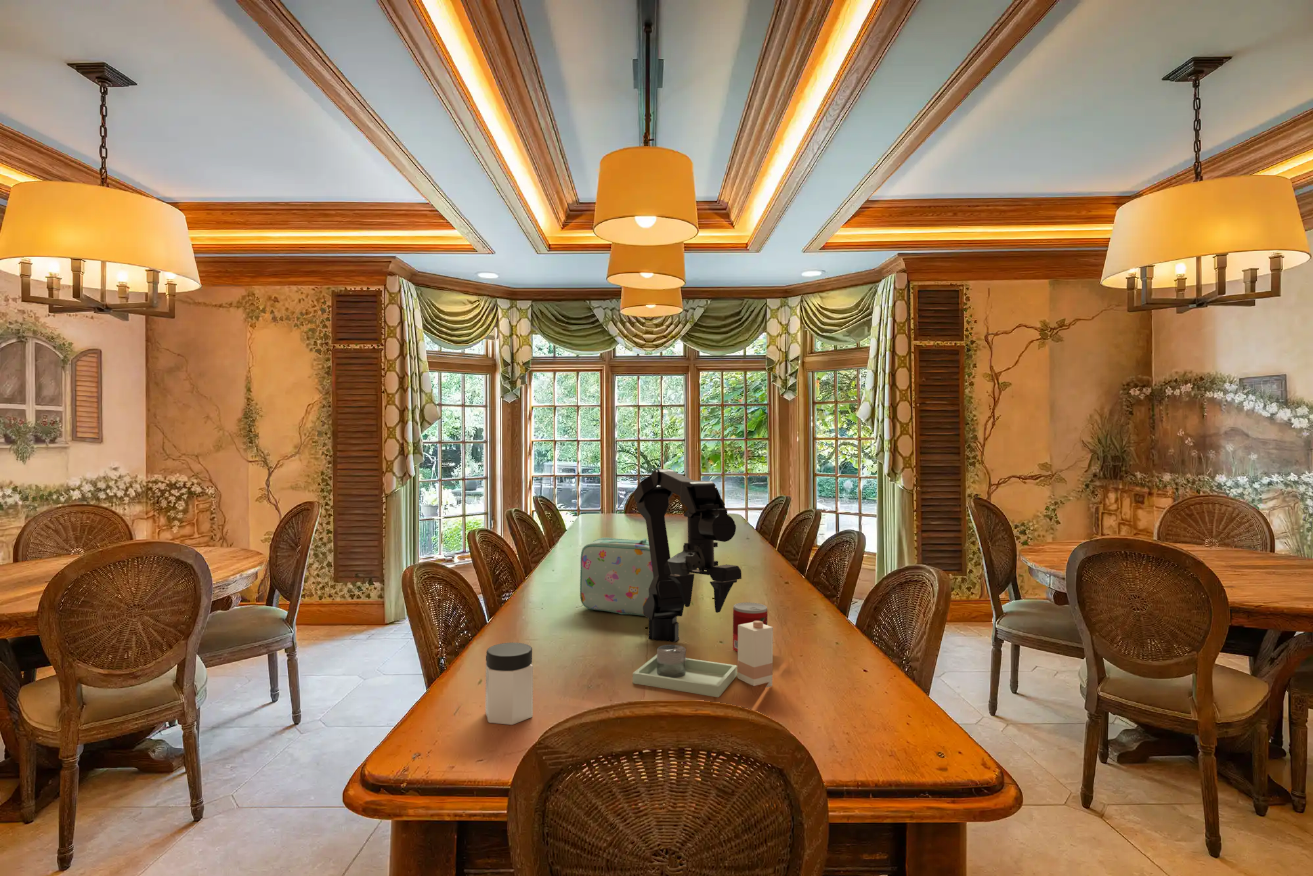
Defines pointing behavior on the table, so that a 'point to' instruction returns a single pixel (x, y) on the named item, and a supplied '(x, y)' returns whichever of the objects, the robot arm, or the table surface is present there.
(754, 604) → the canned food
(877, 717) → the table surface
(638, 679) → the tray
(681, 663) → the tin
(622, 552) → the lunch box
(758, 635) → the oat carton
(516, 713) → the jar
